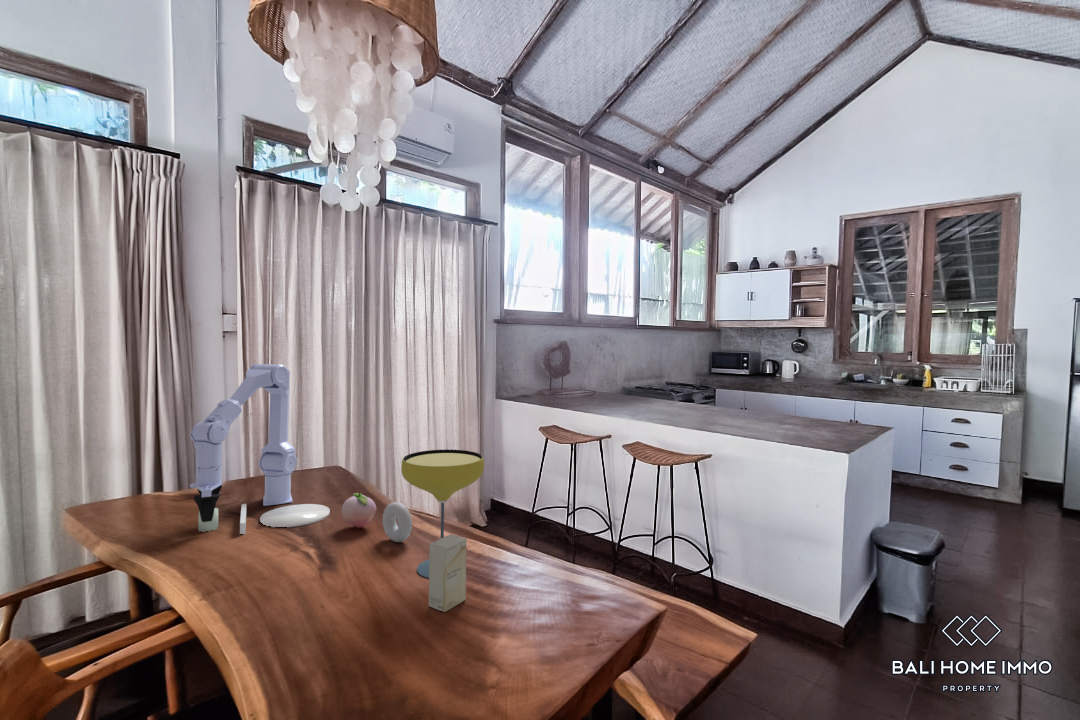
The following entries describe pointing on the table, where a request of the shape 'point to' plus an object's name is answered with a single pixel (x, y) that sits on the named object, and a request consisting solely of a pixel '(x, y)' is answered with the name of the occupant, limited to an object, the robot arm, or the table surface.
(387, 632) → the table surface
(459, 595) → the skincare box
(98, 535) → the table surface
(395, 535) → the donut
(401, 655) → the table surface
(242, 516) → the light grey rectangular bar
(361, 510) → the decorative fruit
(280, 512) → the white plate
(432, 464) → the cocktail glass
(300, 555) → the table surface
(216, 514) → the green cylinder
